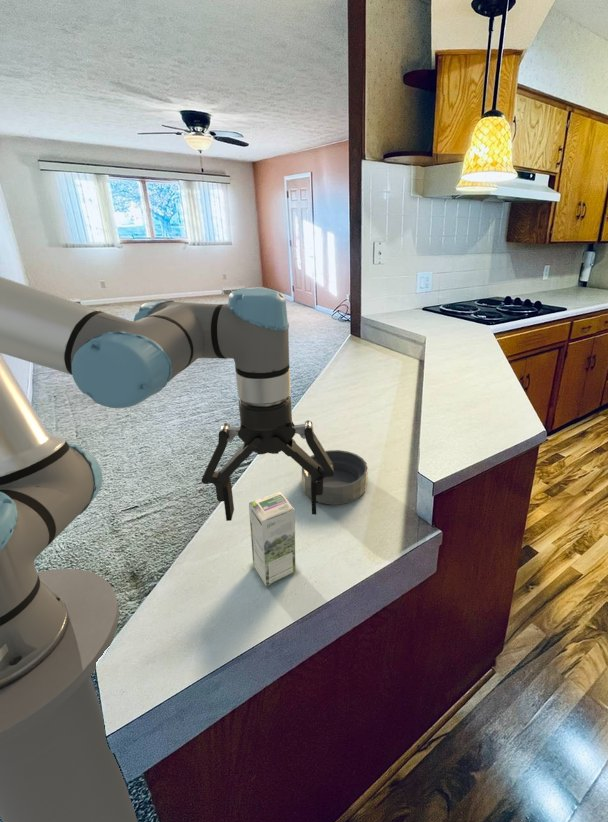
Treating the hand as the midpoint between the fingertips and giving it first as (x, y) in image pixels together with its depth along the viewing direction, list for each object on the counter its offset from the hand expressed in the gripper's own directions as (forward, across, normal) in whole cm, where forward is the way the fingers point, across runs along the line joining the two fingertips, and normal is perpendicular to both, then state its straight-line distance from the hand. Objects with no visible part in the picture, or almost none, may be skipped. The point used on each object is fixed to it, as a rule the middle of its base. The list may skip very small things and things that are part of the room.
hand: (272, 512), depth 69 cm
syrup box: (+13, 0, 0) cm, 13 cm away
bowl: (+13, -12, -24) cm, 30 cm away
